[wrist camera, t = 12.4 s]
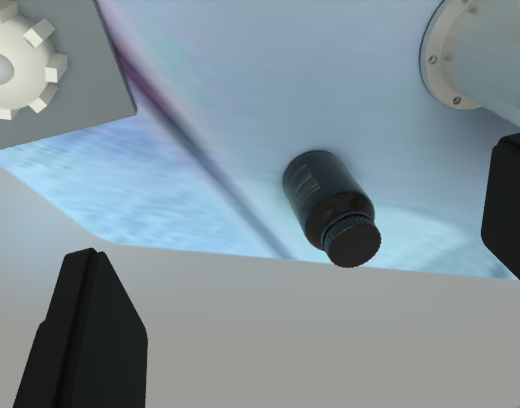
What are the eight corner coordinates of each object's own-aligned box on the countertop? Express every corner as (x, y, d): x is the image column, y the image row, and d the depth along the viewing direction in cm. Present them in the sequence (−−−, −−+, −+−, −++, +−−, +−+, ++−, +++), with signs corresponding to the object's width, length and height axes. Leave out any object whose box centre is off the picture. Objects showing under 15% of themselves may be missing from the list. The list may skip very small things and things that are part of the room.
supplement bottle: (293, 213, 48) (327, 288, 38) (272, 165, 44) (304, 234, 34) (350, 189, 47) (399, 258, 38) (334, 138, 44) (384, 200, 34)
